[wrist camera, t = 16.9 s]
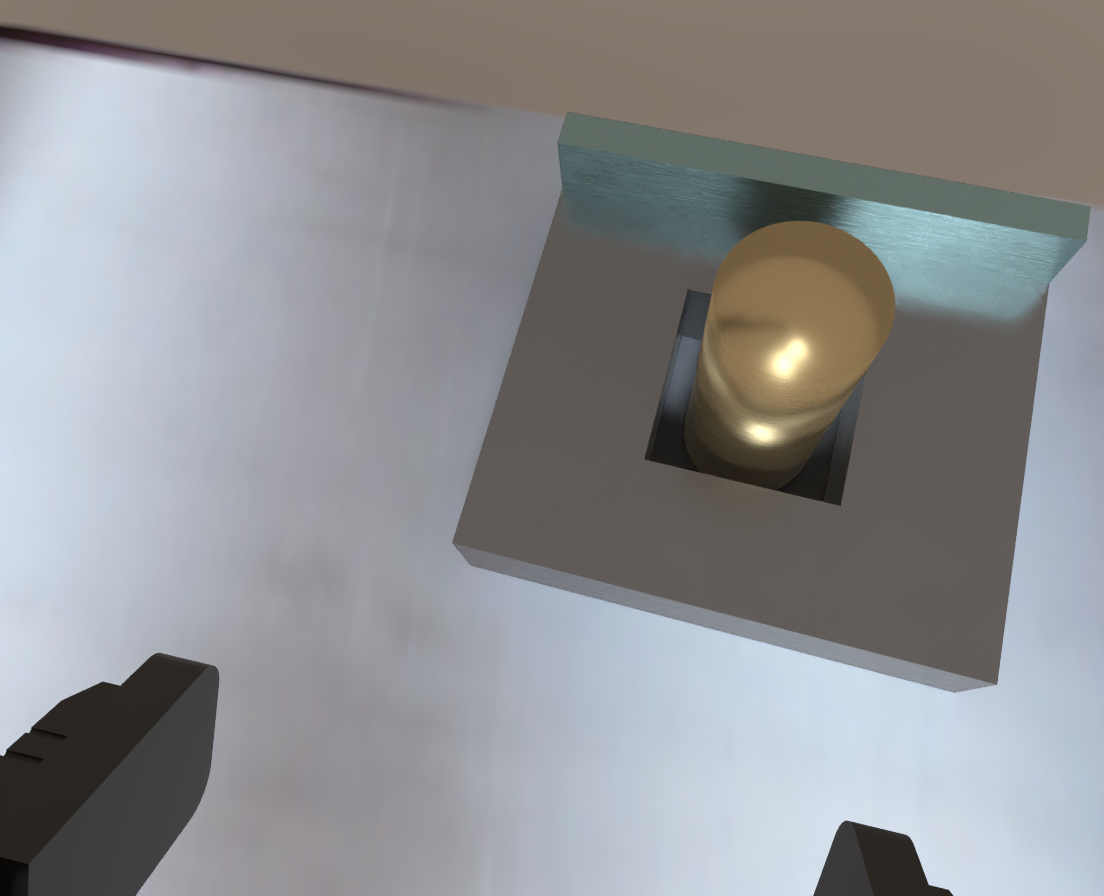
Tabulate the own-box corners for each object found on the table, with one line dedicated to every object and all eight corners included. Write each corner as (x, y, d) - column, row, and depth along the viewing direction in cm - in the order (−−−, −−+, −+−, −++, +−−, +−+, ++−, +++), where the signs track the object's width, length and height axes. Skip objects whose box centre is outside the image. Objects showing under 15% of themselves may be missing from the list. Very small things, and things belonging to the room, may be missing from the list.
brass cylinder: (671, 477, 32) (695, 360, 22) (699, 363, 33) (732, 206, 24) (799, 507, 31) (879, 400, 22) (822, 390, 32) (907, 239, 23)
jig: (470, 565, 31) (436, 523, 26) (576, 214, 35) (567, 112, 30) (954, 692, 29) (1034, 677, 23) (1010, 300, 33) (1090, 206, 27)
